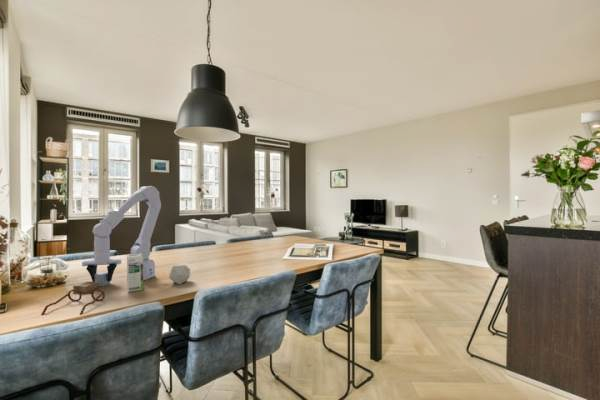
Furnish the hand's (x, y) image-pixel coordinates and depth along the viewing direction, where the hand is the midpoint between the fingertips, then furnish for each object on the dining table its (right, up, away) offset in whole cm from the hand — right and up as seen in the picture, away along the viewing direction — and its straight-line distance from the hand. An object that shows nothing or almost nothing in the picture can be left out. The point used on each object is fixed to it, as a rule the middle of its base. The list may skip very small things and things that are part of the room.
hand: (102, 281), depth 128 cm
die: (+33, -2, +3) cm, 33 cm away
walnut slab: (-1, -2, -8) cm, 8 cm away
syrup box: (+18, -2, -6) cm, 19 cm away
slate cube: (0, -1, 0) cm, 1 cm away
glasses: (+8, -2, -26) cm, 28 cm away
